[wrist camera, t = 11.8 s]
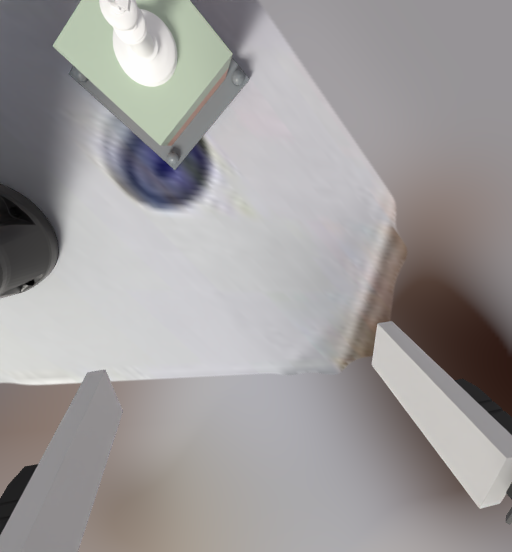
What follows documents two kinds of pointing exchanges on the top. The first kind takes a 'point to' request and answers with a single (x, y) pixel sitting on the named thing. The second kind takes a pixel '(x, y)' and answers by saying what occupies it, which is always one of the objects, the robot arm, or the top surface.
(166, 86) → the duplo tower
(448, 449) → the robot arm
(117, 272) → the top surface
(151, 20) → the chess piece
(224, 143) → the top surface
